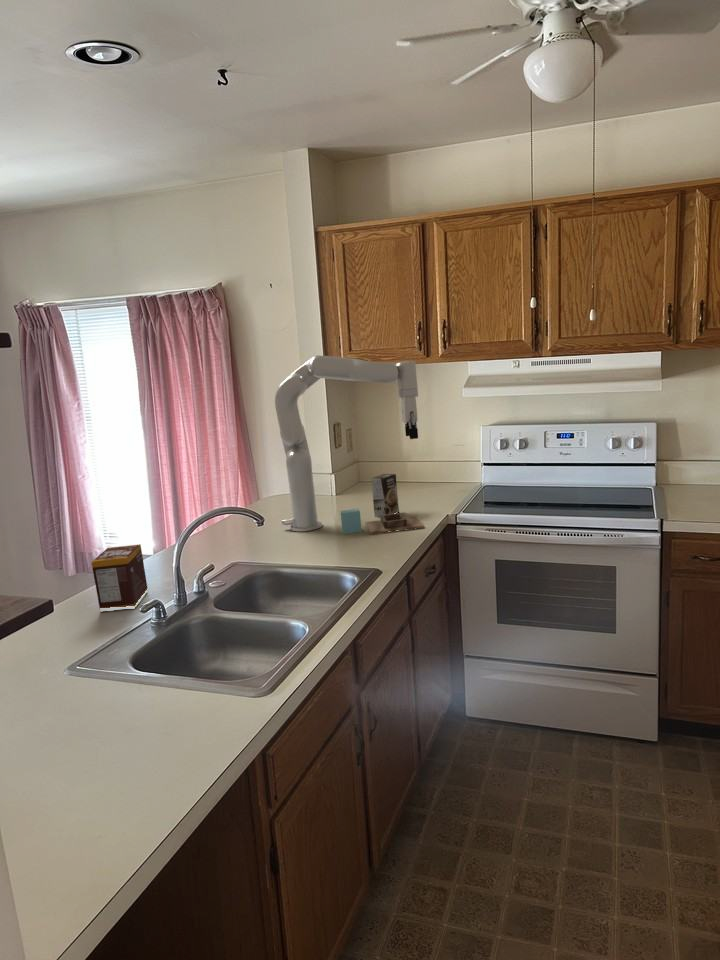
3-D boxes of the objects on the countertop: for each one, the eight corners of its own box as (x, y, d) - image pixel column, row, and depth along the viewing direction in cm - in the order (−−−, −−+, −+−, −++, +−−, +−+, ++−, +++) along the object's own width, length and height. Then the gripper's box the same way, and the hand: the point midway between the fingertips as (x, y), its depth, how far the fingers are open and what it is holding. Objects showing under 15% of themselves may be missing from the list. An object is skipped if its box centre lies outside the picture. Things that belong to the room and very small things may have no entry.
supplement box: (148, 591, 224) (141, 543, 222) (135, 609, 209) (127, 558, 206) (115, 595, 224) (107, 547, 221) (99, 613, 209) (90, 561, 206)
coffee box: (387, 517, 287) (383, 478, 284) (374, 516, 291) (370, 477, 288) (399, 512, 294) (396, 473, 292) (387, 511, 298) (383, 473, 295)
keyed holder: (370, 534, 265) (369, 525, 264) (365, 524, 280) (364, 515, 280) (423, 528, 266) (422, 519, 266) (416, 518, 282) (415, 509, 281)
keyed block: (343, 533, 270) (341, 513, 268) (342, 531, 274) (340, 510, 272) (361, 531, 270) (359, 511, 269) (360, 529, 274) (358, 508, 273)
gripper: (395, 393, 287) (399, 435, 290) (402, 395, 270) (405, 441, 273) (414, 391, 288) (417, 433, 291) (421, 393, 271) (425, 438, 274)
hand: (411, 437), depth 282 cm, fingers open, 9 cm apart
